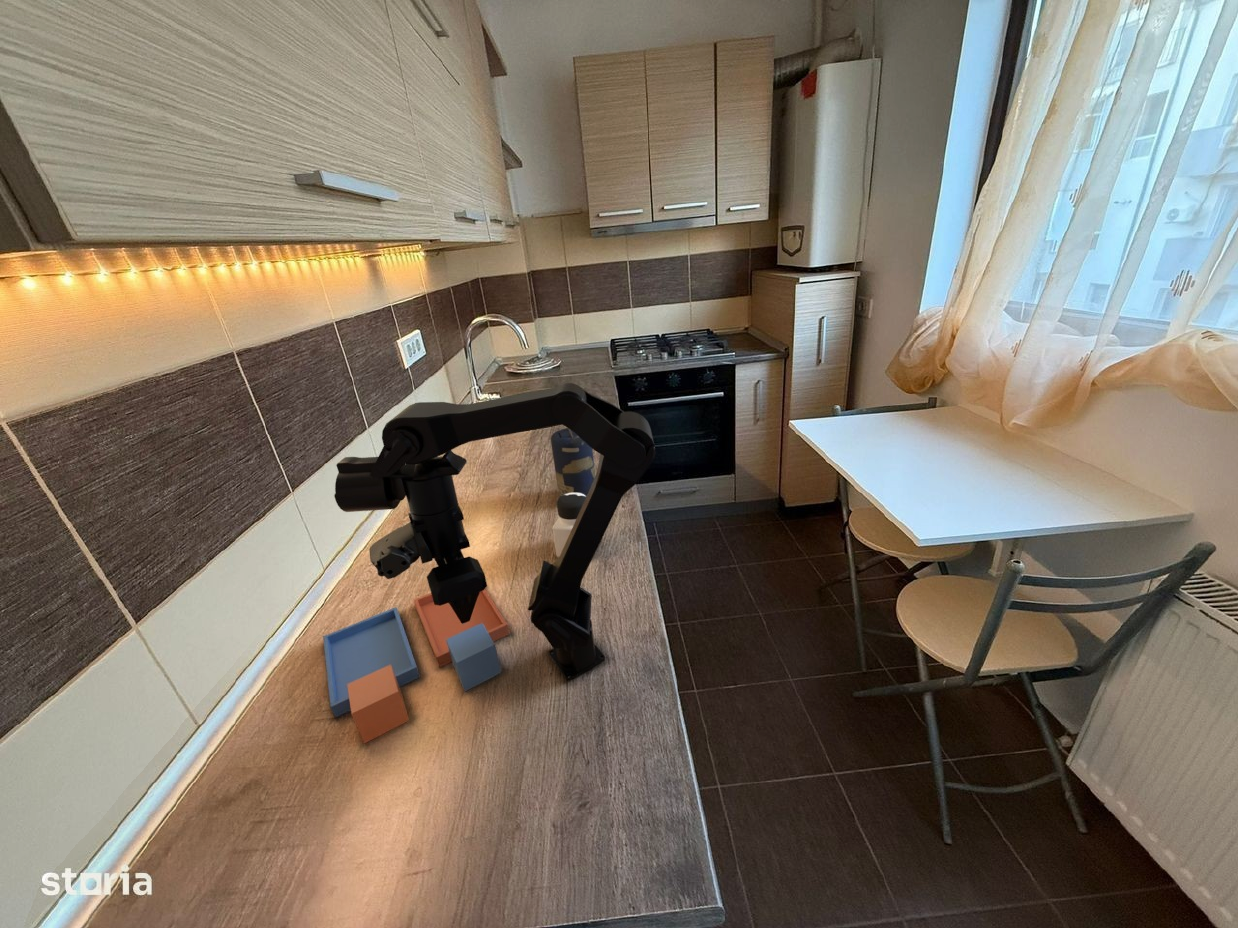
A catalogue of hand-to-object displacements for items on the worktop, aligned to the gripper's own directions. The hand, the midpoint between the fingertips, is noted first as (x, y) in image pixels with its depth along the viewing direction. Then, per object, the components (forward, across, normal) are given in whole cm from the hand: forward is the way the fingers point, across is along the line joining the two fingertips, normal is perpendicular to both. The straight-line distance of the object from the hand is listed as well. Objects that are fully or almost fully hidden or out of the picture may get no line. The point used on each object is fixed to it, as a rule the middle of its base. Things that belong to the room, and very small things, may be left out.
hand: (458, 601), depth 66 cm
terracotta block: (+12, +2, -13) cm, 18 cm away
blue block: (+12, +1, 0) cm, 12 cm away
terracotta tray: (+12, -11, 0) cm, 16 cm away
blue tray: (+12, -10, -14) cm, 21 cm away
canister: (+12, -40, +35) cm, 54 cm away
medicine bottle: (+12, -19, +26) cm, 34 cm away
